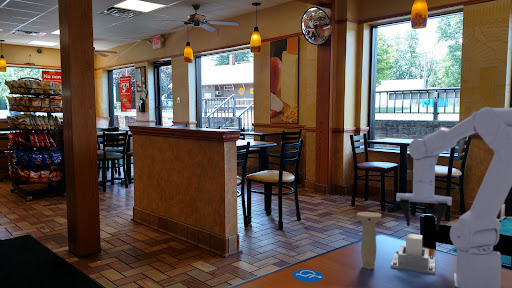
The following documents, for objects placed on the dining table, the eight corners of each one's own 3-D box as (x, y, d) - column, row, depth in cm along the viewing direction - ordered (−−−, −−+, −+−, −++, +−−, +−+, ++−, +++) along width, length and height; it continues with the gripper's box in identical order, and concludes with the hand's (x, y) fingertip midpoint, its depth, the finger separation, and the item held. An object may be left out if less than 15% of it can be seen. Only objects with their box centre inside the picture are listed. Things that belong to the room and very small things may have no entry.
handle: (381, 272, 102) (382, 217, 101) (356, 270, 104) (357, 215, 103) (380, 265, 107) (380, 212, 106) (356, 263, 109) (356, 211, 107)
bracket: (435, 259, 111) (435, 247, 110) (434, 274, 101) (435, 261, 100) (394, 254, 115) (395, 242, 115) (390, 267, 105) (390, 255, 105)
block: (421, 259, 109) (422, 235, 108) (421, 264, 105) (421, 239, 105) (406, 257, 111) (407, 233, 110) (405, 262, 107) (406, 237, 107)
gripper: (451, 179, 110) (450, 226, 111) (398, 176, 116) (397, 220, 118) (452, 184, 104) (451, 233, 105) (395, 180, 110) (395, 226, 111)
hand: (422, 227), depth 111 cm, fingers open, 7 cm apart
